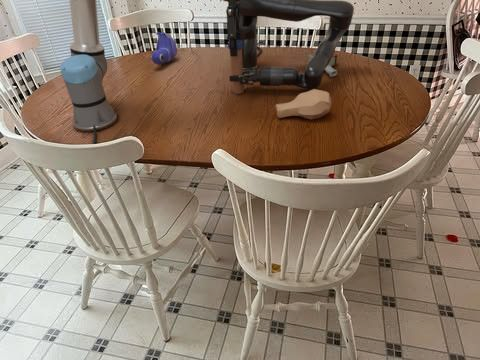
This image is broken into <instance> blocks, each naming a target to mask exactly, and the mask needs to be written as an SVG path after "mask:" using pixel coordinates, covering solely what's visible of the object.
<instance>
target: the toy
mask: <svg viewBox="0 0 480 360" xmlns="http://www.w3.org/2000/svg"><path fill="white" fill-rule="evenodd" d="M155 35H156V36H157V35H158V38H157V39H156V45H155V51H151V53H152V54H151V56H150V60H151V61H152V62H153V63H154V64H156V65H157V67H158V68H159V69H161V66H162V64H167V63H169V62H171V61H173V60H174V59H175V57H177V55H178V46H177V43H176V41H175V39H174V38H173V37H172V36H171V35H170V36H168V35H167V34H166V32H164V31H162V32H159V31H158V32H156V33H155Z"/></svg>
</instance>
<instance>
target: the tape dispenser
mask: <svg viewBox="0 0 480 360" xmlns="http://www.w3.org/2000/svg"><path fill="white" fill-rule="evenodd" d="M313 56H314V54H308V63H309V62H310V60H311V59H312V58H313ZM337 59H338V54H337V53H336V52H335V51H334V53H333V56H332V58H331V60H330V62H329V64H328V66H327V67H326V68H325V69H324V71H325V73H326V74H328V76H329V77H330V78H333V77H336V76H337V75H338V70H337V69H335V68H333V66H336V64H337Z"/></svg>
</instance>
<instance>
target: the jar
mask: <svg viewBox="0 0 480 360" xmlns="http://www.w3.org/2000/svg"><path fill="white" fill-rule="evenodd" d="M229 57H230V73H231V76H240V75H243V66H242V49H239V50H237V56H230V55H229ZM231 87H232V88H231V89H232V94H235V95H240V94H243V93H244V91H245V89H244V84H240V82H238V81H231Z"/></svg>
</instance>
